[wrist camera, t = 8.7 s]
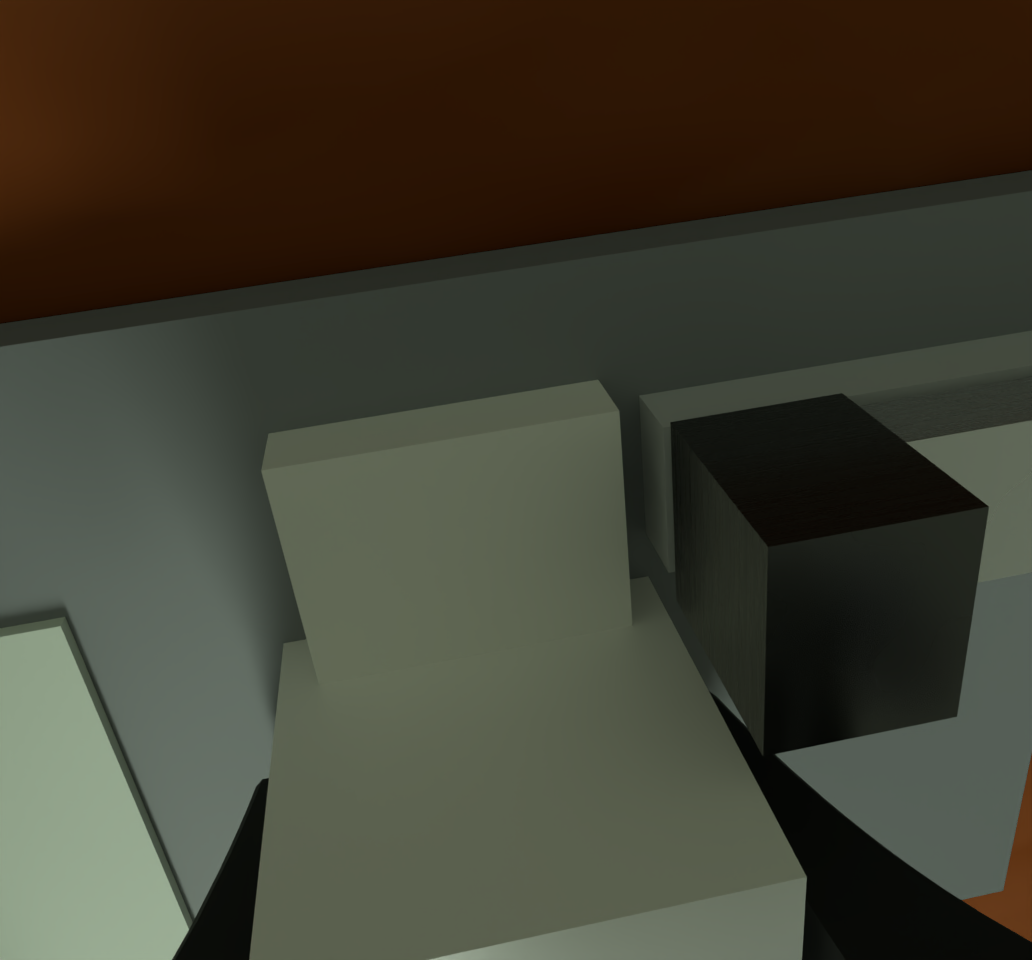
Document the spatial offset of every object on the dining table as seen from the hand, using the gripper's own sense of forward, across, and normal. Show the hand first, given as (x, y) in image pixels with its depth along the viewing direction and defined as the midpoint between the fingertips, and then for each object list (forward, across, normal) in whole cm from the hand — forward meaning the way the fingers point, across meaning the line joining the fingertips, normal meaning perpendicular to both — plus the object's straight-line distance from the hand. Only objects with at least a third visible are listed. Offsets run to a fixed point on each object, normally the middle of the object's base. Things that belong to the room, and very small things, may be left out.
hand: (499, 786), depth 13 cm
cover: (+1, 0, -2) cm, 2 cm away
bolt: (0, -6, -4) cm, 8 cm away
